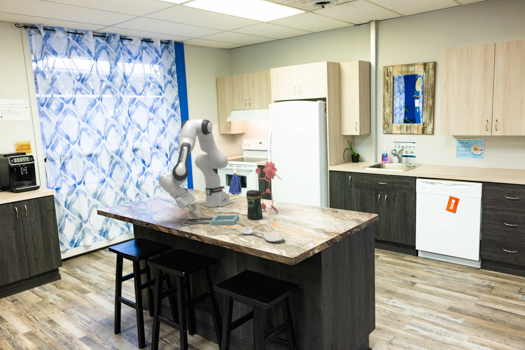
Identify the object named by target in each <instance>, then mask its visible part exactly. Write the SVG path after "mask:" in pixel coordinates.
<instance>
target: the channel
mask: <svg viewBox="0 0 525 350" xmlns="http://www.w3.org/2000/svg"><path fill="white" fill-rule="evenodd" d="M214 217H215V216H213V217H211V216H210V217H207V216H206V217H205V216H204V217H201V216H200V218H199V219H189V217H187V218H185V220H183V221H182V222H181V225H182V224H209V225H211V224H210V221H211V220H212V219H213V218H214ZM189 220H190V221H189Z"/></svg>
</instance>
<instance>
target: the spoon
mask: <svg viewBox="0 0 525 350" xmlns="http://www.w3.org/2000/svg"><path fill="white" fill-rule="evenodd" d="M236 231H237V232H239V233H242V234H244V235H252V234H255V233H256V234H261V235H263V236H264V239H265V240H266V241H268V242H271V243H277V242H281V241H284V240H285V238H286V237H285V236H281V235H279V236H278V235H273V234H268V233H266V232H264V231H260V230H253V229H252V228H251V227H250V226H248V225H247V226H246V227H245V228H243V229H242V228H241V229H238V228H237V229H236Z"/></svg>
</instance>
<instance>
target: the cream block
mask: <svg viewBox="0 0 525 350" xmlns="http://www.w3.org/2000/svg"><path fill="white" fill-rule="evenodd" d="M200 203H201V202H200V201H194V202H191V203H190V204H189V205H190V206H191V207H193V208H194V210H193V211H191V210H190V209H188V208H187V209H188V218H189V219H199V218H200V217H201V206H200V205H201V204H200Z"/></svg>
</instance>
